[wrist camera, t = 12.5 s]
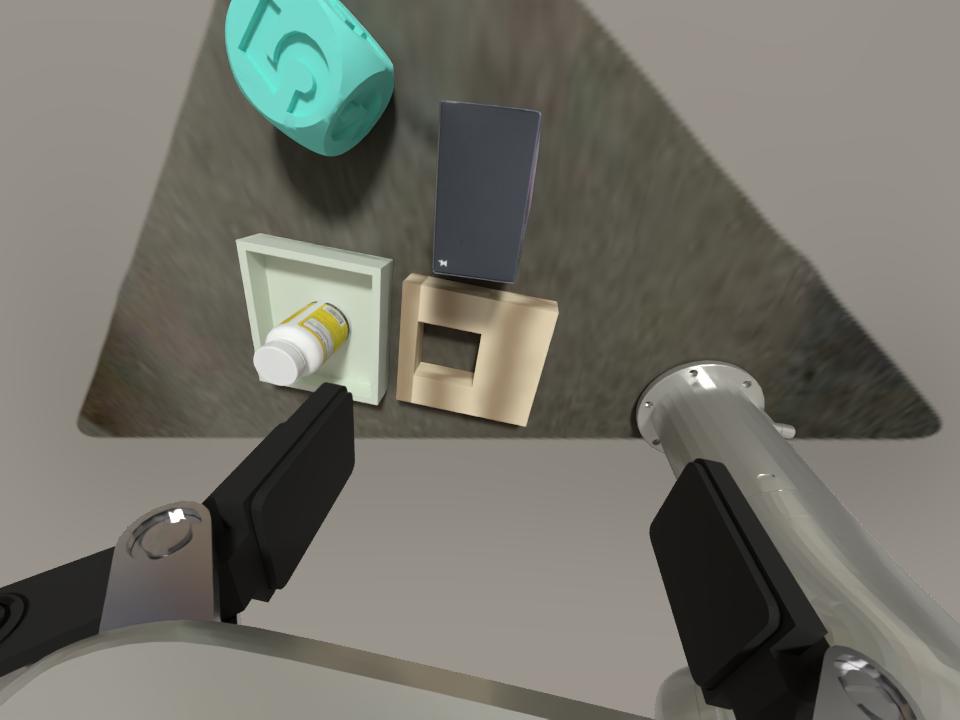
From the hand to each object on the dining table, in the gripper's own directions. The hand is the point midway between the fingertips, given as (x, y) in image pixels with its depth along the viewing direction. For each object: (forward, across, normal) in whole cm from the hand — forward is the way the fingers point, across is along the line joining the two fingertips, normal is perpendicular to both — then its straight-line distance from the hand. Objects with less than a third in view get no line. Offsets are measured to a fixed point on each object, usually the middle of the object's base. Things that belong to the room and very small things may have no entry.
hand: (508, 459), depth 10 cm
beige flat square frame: (+28, +4, +12) cm, 31 cm away
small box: (+28, +4, -4) cm, 29 cm away
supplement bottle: (+27, +20, +11) cm, 35 cm away
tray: (+28, +20, +11) cm, 36 cm away
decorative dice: (+28, +18, -11) cm, 35 cm away
